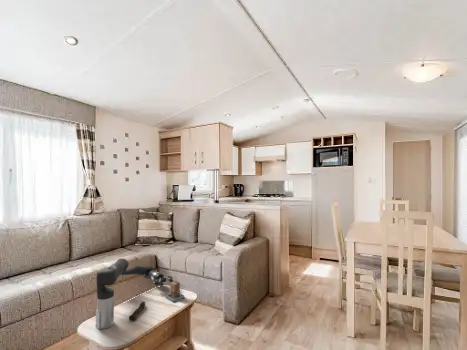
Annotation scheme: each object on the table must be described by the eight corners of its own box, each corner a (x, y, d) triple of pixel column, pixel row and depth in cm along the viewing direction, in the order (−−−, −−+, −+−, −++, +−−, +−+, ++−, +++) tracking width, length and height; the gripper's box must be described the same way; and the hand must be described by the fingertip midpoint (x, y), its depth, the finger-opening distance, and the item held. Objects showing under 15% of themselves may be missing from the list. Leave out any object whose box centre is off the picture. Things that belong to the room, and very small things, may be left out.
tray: (172, 302, 184) (172, 299, 184) (166, 298, 190) (166, 295, 191) (184, 298, 190) (184, 295, 190) (177, 294, 197) (177, 291, 197)
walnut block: (173, 299, 187) (173, 284, 187) (170, 297, 190) (170, 282, 191) (179, 297, 190) (179, 282, 191) (176, 295, 194) (176, 280, 194)
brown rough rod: (134, 322, 159) (134, 314, 159) (128, 321, 160) (128, 314, 160) (148, 307, 178) (148, 300, 178) (143, 306, 178) (143, 299, 178)
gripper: (149, 275, 205) (159, 280, 193) (165, 270, 215) (175, 275, 203) (149, 284, 205) (159, 290, 193) (165, 279, 215) (175, 285, 203)
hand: (167, 283), depth 198 cm, fingers open, 8 cm apart
